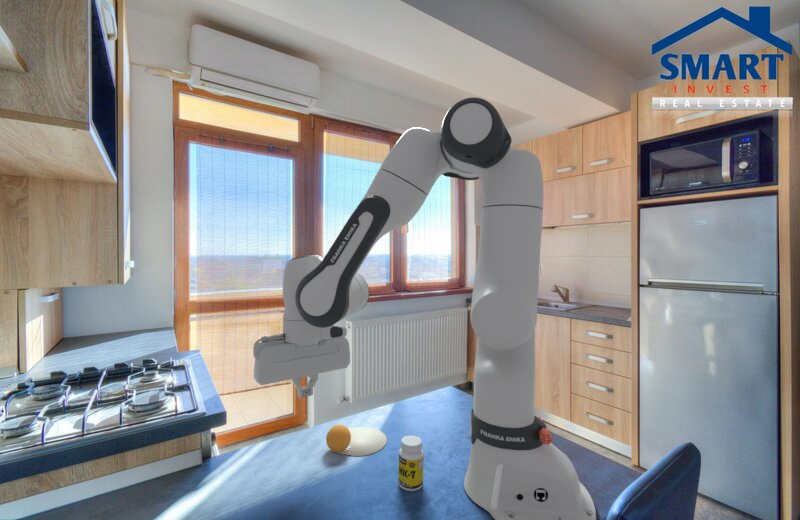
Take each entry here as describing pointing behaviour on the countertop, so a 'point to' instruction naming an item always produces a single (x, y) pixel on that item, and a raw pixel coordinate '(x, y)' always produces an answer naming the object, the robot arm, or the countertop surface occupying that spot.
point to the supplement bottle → (411, 463)
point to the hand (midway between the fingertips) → (305, 396)
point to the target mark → (365, 441)
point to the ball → (338, 438)
